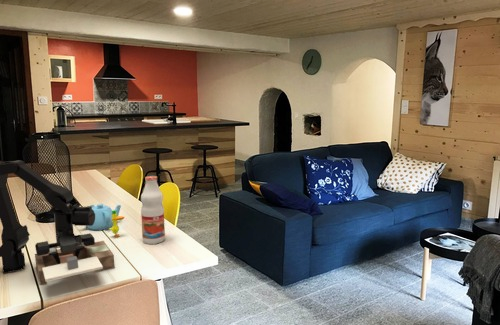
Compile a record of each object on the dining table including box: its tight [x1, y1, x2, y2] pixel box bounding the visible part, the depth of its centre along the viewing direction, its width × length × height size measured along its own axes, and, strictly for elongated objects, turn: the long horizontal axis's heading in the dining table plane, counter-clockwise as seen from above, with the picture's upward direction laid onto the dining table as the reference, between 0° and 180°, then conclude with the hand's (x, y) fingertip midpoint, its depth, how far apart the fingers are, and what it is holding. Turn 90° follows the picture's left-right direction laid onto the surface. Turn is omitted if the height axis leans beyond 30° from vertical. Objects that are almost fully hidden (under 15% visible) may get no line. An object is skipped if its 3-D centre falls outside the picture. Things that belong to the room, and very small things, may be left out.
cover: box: [42, 256, 103, 283], centre depth 129 cm, size 17×10×4 cm, turn 123°
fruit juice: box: [140, 175, 166, 245], centre depth 166 cm, size 9×9×28 cm
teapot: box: [86, 203, 122, 231], centre depth 184 cm, size 15×15×11 cm
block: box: [59, 254, 73, 264], centre depth 141 cm, size 4×4×4 cm
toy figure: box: [109, 209, 125, 238], centre depth 171 cm, size 7×4×12 cm, turn 118°
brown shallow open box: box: [34, 240, 116, 286], centre depth 142 cm, size 24×16×5 cm, turn 123°
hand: (67, 266), depth 141 cm, fingers closed on block, 4 cm apart
